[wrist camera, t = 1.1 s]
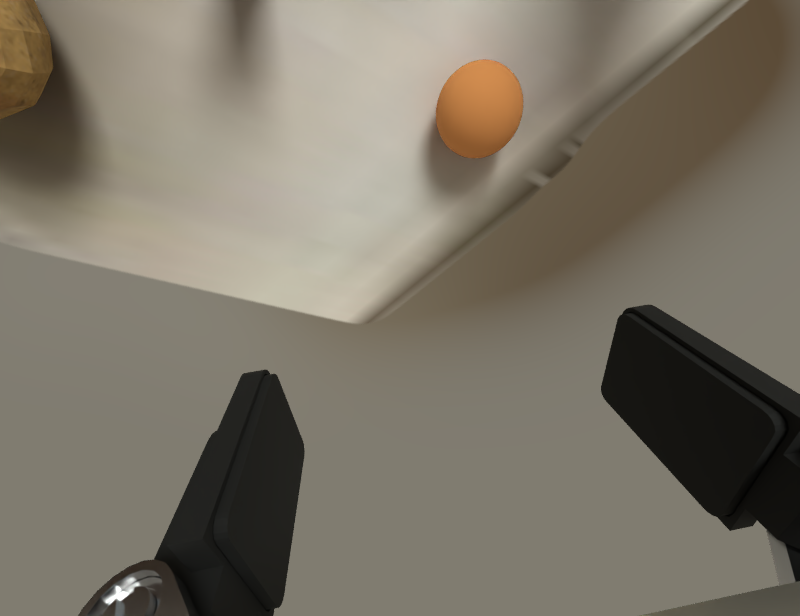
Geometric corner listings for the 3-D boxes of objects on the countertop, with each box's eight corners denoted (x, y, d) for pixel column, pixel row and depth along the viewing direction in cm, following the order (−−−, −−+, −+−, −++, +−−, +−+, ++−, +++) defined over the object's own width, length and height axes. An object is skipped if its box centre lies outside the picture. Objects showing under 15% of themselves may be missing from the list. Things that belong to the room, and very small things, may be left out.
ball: (480, 47, 24) (515, 26, 19) (514, 123, 27) (553, 123, 22) (413, 102, 26) (429, 96, 20) (453, 170, 28) (476, 180, 23)
